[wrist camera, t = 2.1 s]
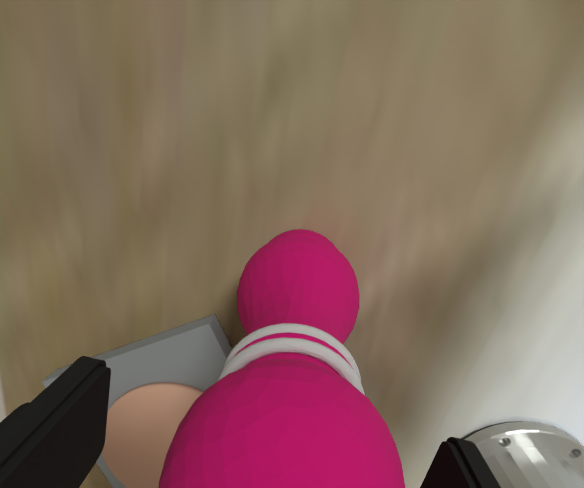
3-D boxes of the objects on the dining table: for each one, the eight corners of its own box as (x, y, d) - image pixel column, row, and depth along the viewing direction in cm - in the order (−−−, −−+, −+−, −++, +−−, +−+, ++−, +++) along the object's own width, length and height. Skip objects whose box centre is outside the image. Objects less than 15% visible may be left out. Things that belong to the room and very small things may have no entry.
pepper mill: (284, 330, 25) (197, 936, 5) (232, 253, 23) (-134, 707, 4) (367, 286, 23) (636, 879, 4) (317, 202, 22) (374, 511, 3)
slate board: (299, 484, 29) (298, 509, 27) (155, 521, 31) (144, 546, 29) (214, 314, 25) (206, 328, 23) (56, 369, 27) (35, 387, 25)
